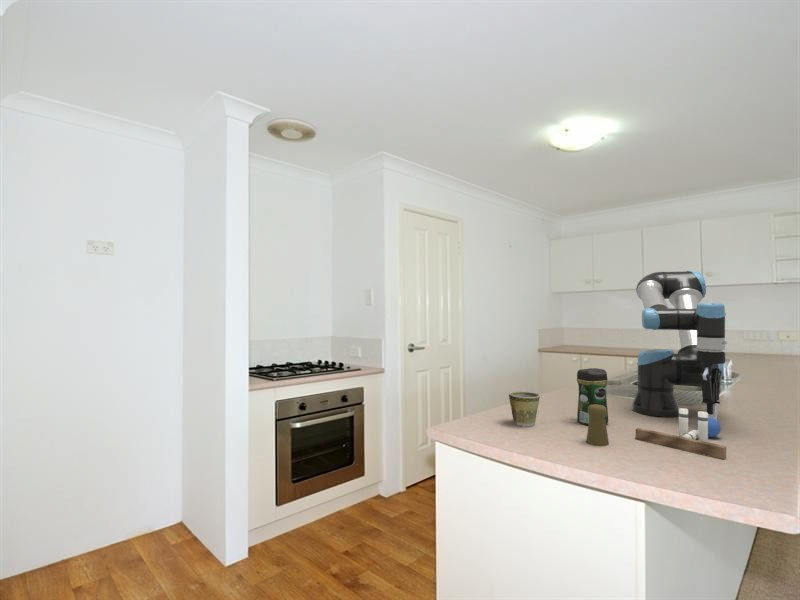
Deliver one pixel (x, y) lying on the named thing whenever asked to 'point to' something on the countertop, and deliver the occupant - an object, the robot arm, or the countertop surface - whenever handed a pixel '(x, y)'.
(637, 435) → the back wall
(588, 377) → the coffee jar
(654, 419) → the countertop surface
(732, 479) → the countertop surface
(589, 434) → the olive tall tapered piece
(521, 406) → the ceramic cup
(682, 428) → the pin back left
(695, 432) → the pin front
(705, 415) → the pin back right
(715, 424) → the ball
